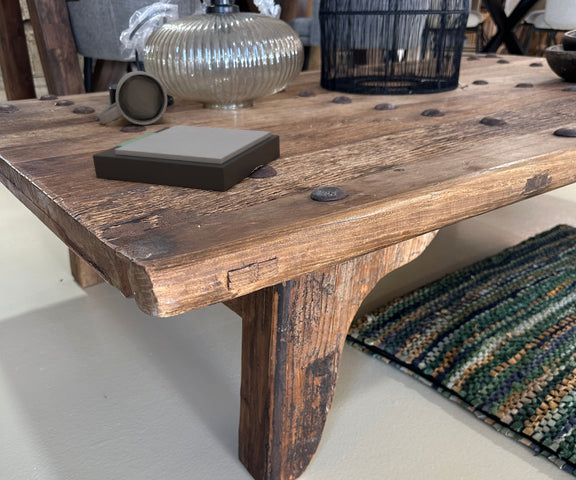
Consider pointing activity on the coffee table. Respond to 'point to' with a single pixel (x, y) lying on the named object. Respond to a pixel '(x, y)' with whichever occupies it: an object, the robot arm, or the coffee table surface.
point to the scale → (189, 157)
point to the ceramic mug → (137, 99)
